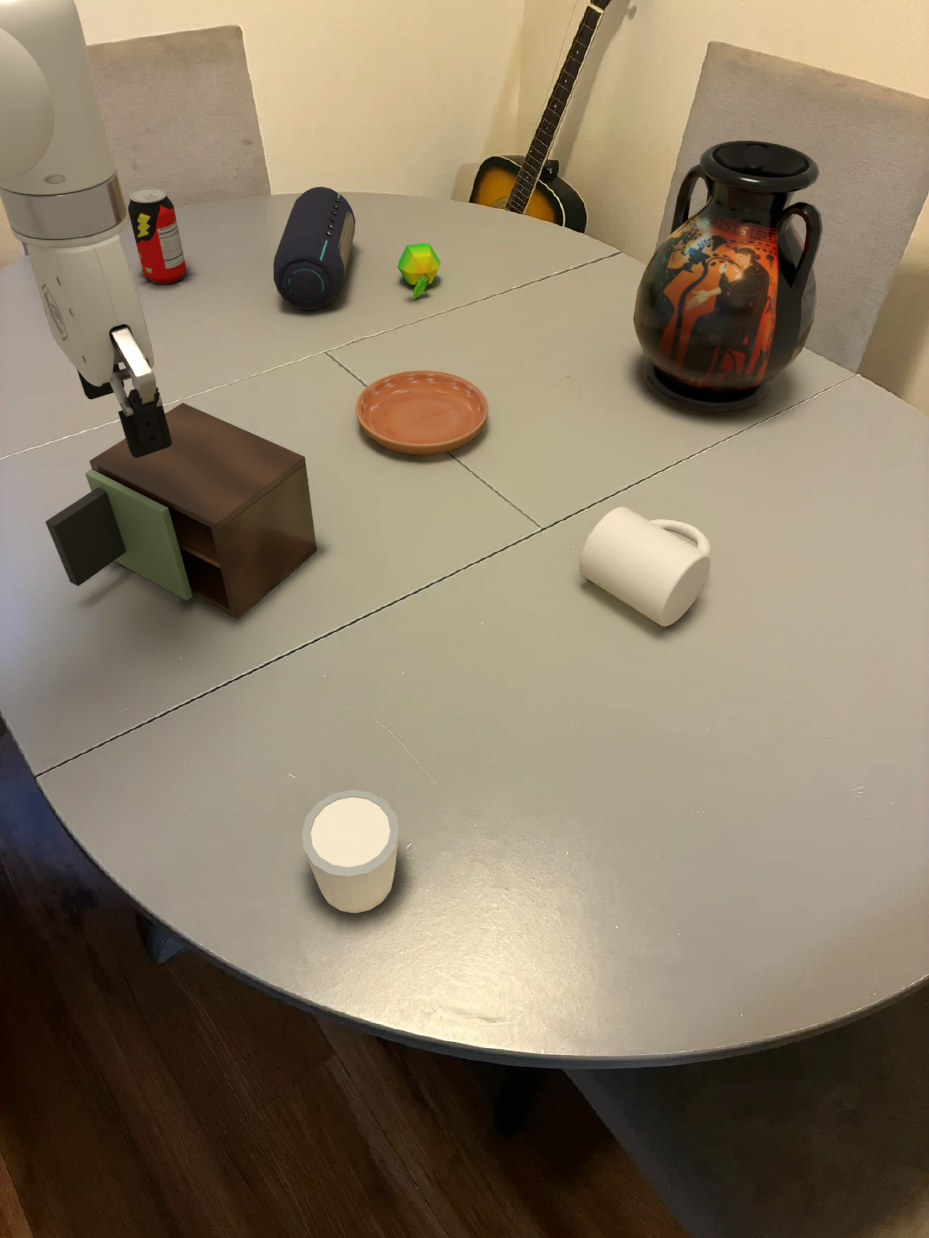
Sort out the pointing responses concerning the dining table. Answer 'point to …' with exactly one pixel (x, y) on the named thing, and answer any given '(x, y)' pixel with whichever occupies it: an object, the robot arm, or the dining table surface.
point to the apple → (419, 266)
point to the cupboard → (224, 505)
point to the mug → (647, 563)
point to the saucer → (422, 412)
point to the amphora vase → (731, 281)
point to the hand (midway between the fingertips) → (128, 421)
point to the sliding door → (118, 536)
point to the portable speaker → (314, 249)
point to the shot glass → (352, 849)
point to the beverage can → (156, 235)
